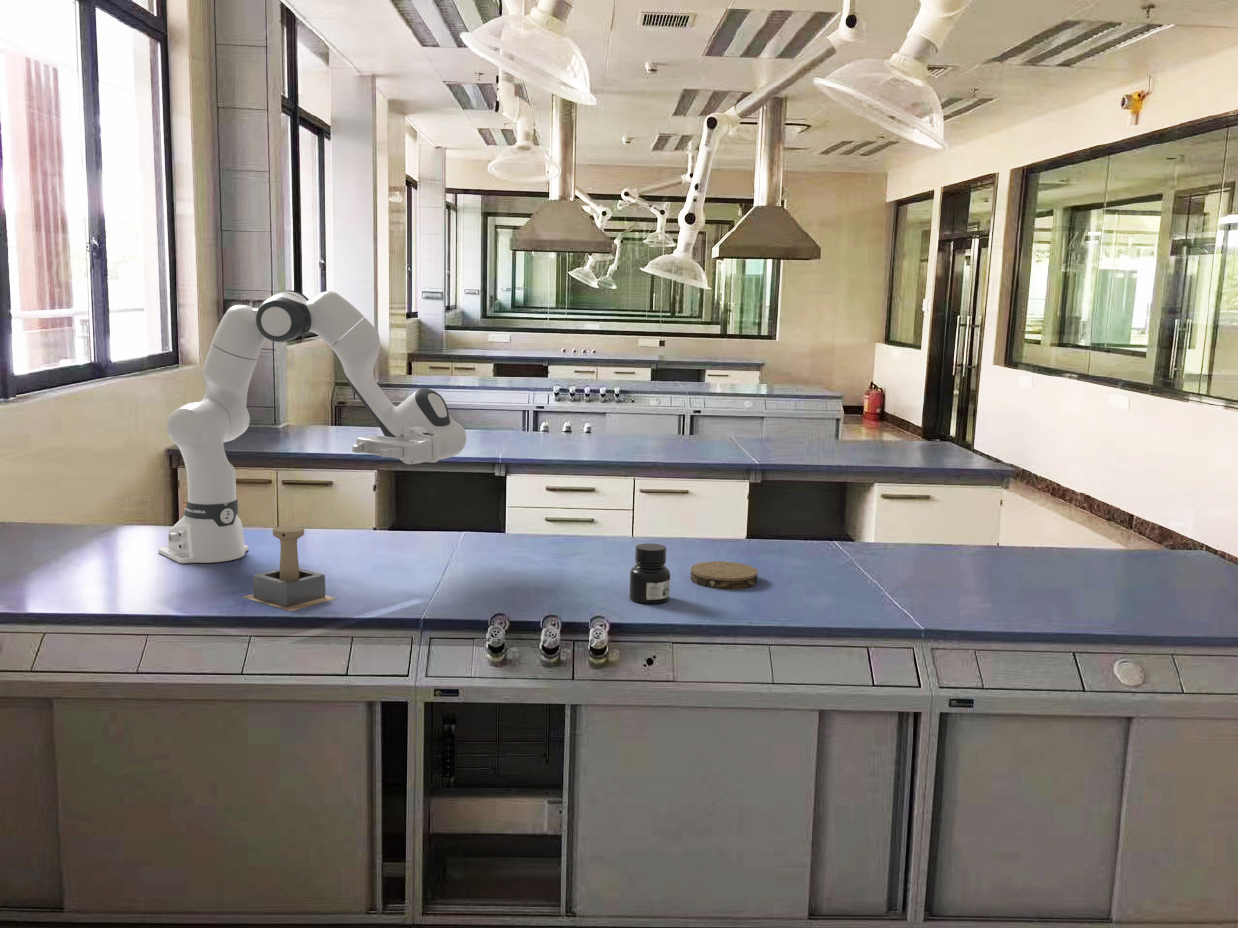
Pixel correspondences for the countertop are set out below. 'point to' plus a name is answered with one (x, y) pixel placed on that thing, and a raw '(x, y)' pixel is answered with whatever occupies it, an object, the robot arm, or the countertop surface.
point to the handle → (288, 551)
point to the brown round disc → (724, 575)
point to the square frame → (289, 588)
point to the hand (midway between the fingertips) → (368, 451)
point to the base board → (292, 608)
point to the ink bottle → (650, 575)
